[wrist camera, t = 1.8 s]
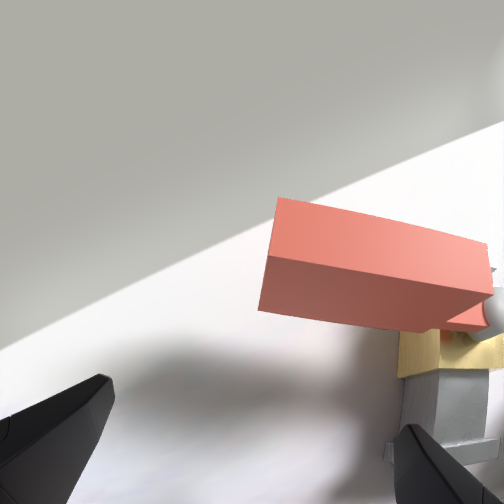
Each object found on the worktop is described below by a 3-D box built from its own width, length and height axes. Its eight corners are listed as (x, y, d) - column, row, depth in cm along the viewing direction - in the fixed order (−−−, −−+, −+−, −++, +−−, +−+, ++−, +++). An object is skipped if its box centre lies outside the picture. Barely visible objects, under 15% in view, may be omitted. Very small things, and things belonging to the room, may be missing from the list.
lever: (490, 301, 14) (554, 261, 9) (493, 342, 13) (563, 310, 8) (265, 264, 14) (279, 192, 10) (256, 314, 13) (267, 262, 9)
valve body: (452, 453, 14) (497, 457, 10) (382, 460, 15) (422, 472, 10) (457, 279, 20) (495, 251, 16) (397, 268, 20) (430, 234, 16)
